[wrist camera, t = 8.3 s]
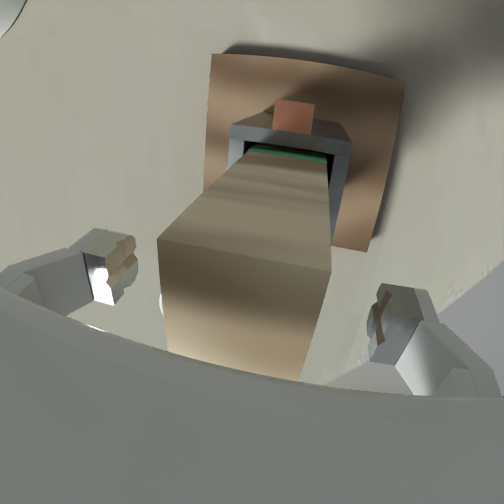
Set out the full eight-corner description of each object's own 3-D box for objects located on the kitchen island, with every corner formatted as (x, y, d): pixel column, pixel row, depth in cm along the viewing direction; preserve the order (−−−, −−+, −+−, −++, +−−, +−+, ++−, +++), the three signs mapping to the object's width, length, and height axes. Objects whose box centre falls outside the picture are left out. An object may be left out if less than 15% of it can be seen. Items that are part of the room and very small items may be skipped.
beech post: (263, 136, 20) (155, 236, 7) (325, 146, 19) (333, 270, 7) (257, 193, 22) (167, 353, 9) (315, 203, 21) (298, 383, 9)
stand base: (219, 55, 24) (212, 53, 22) (399, 82, 22) (405, 81, 20) (209, 214, 32) (202, 222, 31) (364, 242, 30) (366, 252, 28)
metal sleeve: (264, 92, 23) (232, 95, 15) (343, 104, 23) (357, 113, 14) (255, 182, 27) (223, 231, 19) (327, 194, 27) (329, 250, 18)
